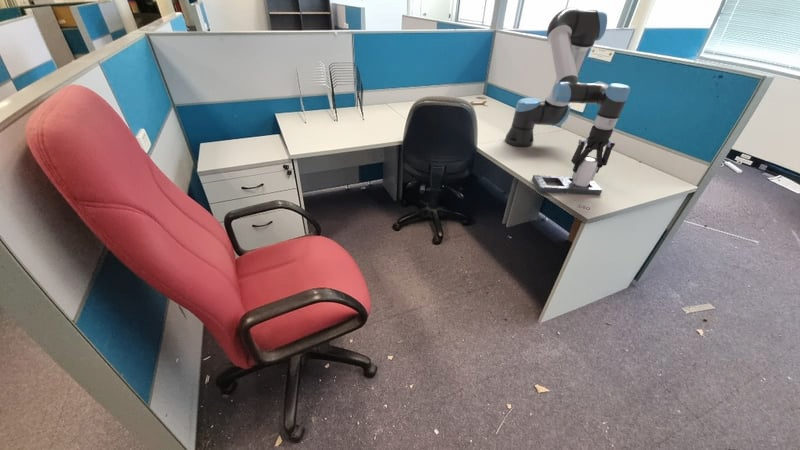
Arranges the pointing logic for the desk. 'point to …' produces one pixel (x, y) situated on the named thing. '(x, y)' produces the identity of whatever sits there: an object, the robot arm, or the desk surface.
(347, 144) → the desk surface
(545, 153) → the desk surface
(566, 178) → the holder
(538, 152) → the desk surface
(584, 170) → the can
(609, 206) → the desk surface
